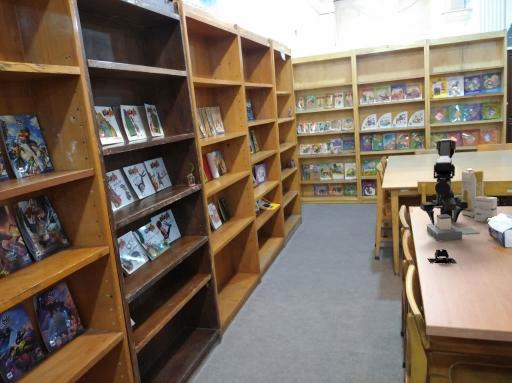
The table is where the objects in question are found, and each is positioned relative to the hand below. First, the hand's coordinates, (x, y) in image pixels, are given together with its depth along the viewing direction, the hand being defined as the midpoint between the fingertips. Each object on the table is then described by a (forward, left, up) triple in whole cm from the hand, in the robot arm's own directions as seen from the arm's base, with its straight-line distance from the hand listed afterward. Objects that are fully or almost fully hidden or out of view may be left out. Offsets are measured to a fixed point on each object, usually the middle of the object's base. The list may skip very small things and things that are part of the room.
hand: (443, 224), depth 179 cm
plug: (0, 0, -5) cm, 5 cm away
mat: (-3, +11, -5) cm, 12 cm away
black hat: (+29, -12, -6) cm, 32 cm away
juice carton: (-29, +25, -5) cm, 39 cm away
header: (0, 0, -5) cm, 5 cm away
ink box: (-17, +26, -5) cm, 31 cm away
